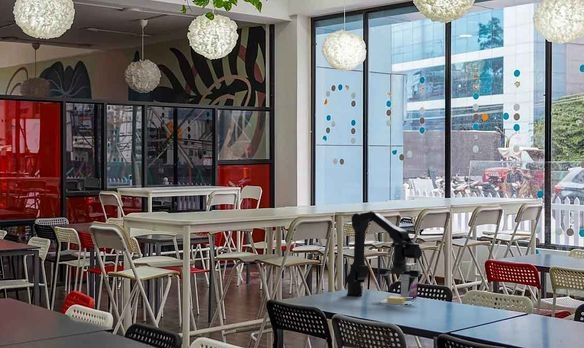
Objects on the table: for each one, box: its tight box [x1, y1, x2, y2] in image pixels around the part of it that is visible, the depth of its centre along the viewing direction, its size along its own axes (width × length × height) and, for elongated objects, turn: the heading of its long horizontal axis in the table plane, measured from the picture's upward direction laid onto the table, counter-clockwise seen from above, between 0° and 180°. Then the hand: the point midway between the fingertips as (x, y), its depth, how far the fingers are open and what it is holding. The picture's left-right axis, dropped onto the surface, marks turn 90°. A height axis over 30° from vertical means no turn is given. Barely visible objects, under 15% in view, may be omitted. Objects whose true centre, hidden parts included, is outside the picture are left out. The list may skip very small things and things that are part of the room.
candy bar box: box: [400, 262, 418, 298], centre depth 418 cm, size 11×5×16 cm, turn 154°
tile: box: [386, 295, 406, 303], centre depth 397 cm, size 7×2×7 cm
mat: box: [379, 296, 412, 306], centre depth 399 cm, size 14×14×2 cm
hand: (398, 291), depth 401 cm, fingers open, 9 cm apart
